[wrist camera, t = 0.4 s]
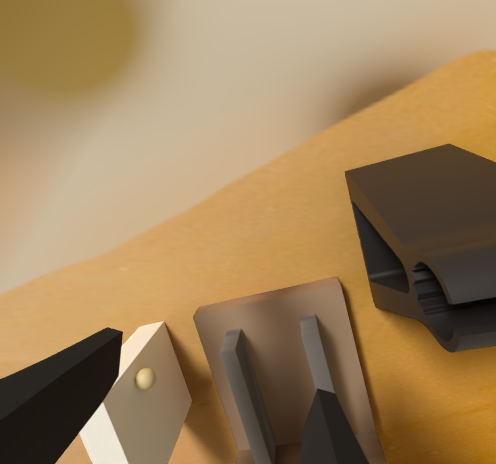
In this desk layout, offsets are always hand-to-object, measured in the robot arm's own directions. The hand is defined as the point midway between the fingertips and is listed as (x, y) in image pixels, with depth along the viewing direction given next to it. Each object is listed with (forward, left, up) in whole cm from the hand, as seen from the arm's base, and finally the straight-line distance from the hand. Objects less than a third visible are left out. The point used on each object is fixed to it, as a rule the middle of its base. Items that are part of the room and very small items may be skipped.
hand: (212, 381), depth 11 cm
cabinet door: (-8, -5, -11) cm, 15 cm away
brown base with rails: (+1, -7, -11) cm, 13 cm away
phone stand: (+11, +1, -11) cm, 15 cm away
